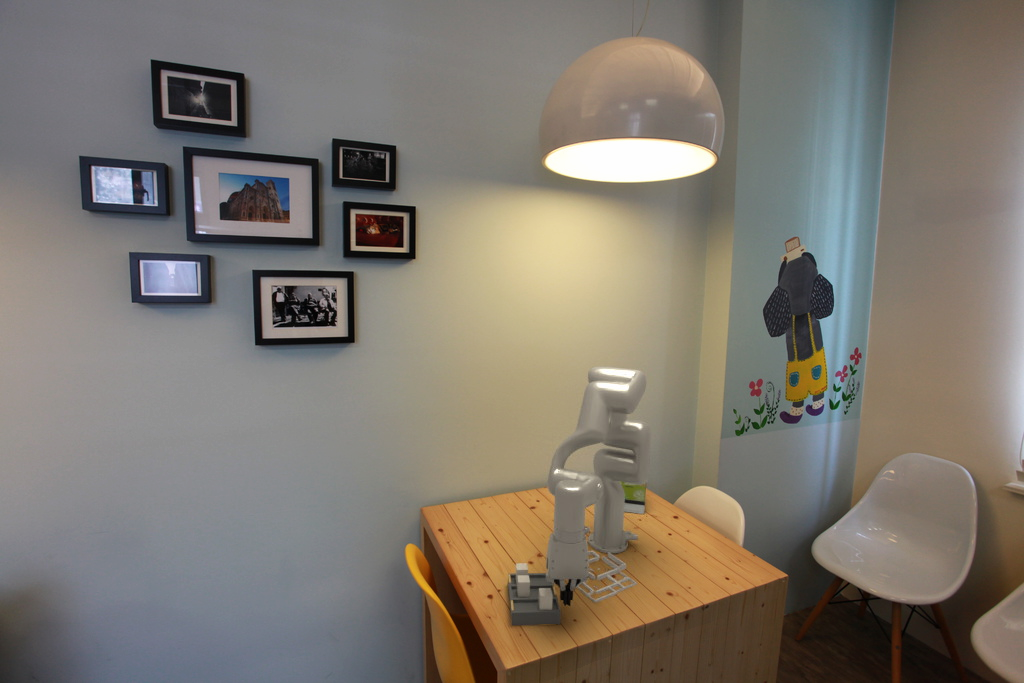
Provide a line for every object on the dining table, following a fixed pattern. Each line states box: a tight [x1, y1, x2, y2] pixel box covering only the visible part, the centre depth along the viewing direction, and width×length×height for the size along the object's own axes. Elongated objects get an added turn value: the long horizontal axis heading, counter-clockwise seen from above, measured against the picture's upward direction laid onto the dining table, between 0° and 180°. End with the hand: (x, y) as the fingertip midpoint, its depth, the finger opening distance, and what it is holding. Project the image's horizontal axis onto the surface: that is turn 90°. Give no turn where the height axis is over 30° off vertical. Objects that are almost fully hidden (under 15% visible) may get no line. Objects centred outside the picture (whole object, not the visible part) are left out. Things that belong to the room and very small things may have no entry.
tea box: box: [620, 481, 647, 515], centre depth 178 cm, size 15×10×15 cm, turn 77°
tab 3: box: [538, 588, 553, 610], centre depth 114 cm, size 3×3×4 cm
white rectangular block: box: [515, 562, 529, 584], centre depth 125 cm, size 3×3×4 cm
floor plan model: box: [575, 549, 637, 604], centre depth 136 cm, size 19×25×2 cm
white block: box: [517, 575, 530, 597], centre depth 119 cm, size 3×3×4 cm
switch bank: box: [507, 572, 562, 626], centre depth 120 cm, size 12×16×4 cm
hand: (566, 602), depth 115 cm, fingers closed
